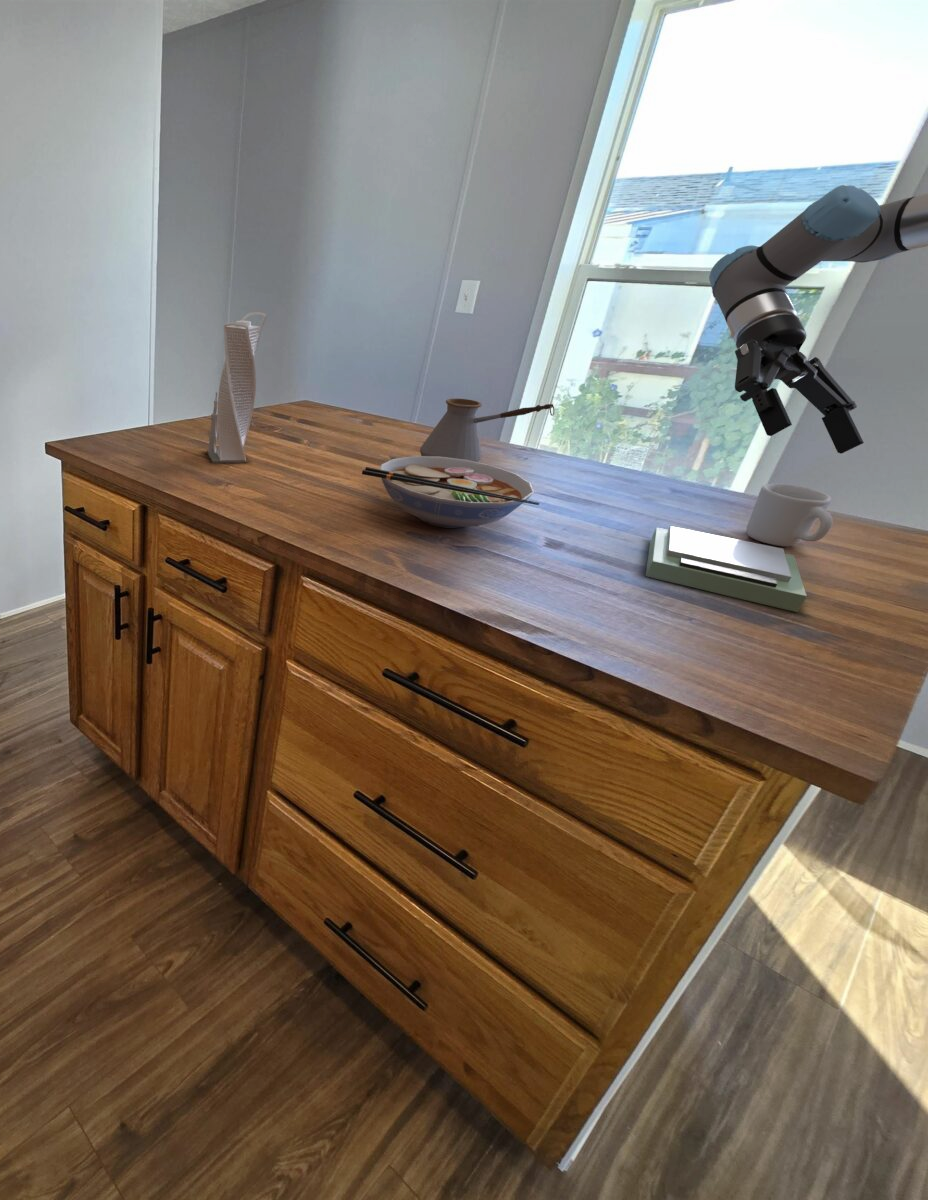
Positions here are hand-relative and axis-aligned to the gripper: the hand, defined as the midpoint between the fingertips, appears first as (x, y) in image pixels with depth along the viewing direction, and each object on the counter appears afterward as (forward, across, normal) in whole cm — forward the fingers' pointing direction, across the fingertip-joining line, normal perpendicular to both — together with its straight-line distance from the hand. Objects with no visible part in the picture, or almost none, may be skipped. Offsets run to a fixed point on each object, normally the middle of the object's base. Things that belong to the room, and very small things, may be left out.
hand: (815, 439), depth 95 cm
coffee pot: (-14, +24, -38) cm, 47 cm away
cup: (+11, -4, -11) cm, 16 cm away
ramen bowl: (+7, +43, -27) cm, 51 cm away
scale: (+20, +14, -9) cm, 26 cm away
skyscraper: (-18, +70, -53) cm, 89 cm away
